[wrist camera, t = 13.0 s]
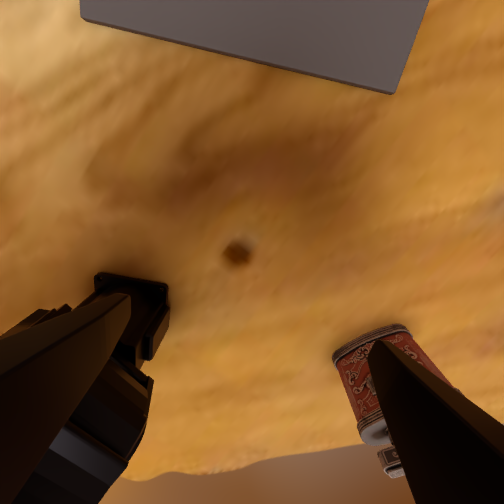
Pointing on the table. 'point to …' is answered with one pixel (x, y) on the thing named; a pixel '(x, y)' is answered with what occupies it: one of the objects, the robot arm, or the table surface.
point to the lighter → (363, 392)
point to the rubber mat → (282, 32)
